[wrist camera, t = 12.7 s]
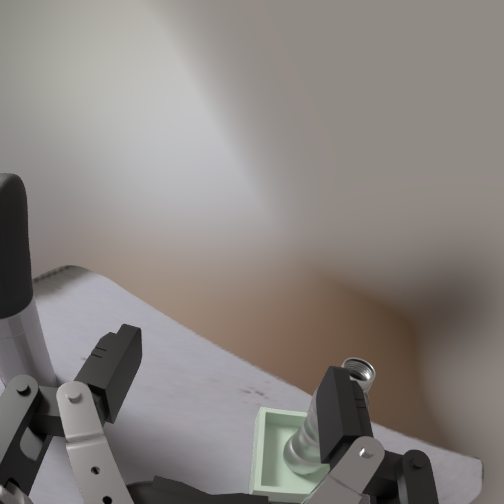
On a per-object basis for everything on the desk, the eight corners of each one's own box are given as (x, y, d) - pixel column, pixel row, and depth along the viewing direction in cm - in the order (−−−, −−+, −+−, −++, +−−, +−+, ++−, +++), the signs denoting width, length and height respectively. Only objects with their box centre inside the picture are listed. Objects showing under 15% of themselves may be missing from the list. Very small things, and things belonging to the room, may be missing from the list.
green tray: (248, 499, 31) (253, 489, 30) (255, 420, 44) (260, 406, 43) (348, 502, 32) (360, 493, 30) (340, 429, 44) (349, 416, 43)
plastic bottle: (297, 435, 42) (347, 339, 33) (331, 460, 38) (397, 370, 29) (269, 459, 37) (316, 366, 29) (306, 488, 33) (373, 404, 25)
